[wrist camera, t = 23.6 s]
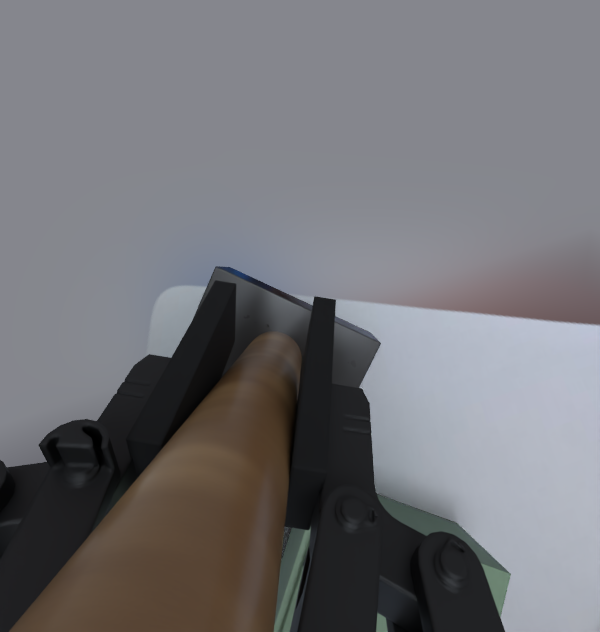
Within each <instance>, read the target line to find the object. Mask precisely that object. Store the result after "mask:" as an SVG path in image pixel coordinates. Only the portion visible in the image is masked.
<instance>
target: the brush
mask: <svg viewBox="0 0 600 632" xmlns="http://www.w3.org/2000/svg"><path fill="white" fill-rule="evenodd" d="M215 280H217V281H223V282H230V283H236V319H235V343H234V345H233V348H232V351H231V353H230V356H229V358H228V361H227V364H226V366H225V369H224V372H223V374H222V377H221V379H220V380H219V381H218V383H217V384H216V385H215V386H214V387H213V389H212V390H211V391H210V392H209V393H208V394H207V396H206V397H205V398H204V399H203V400H202V402H201V403H200V404H199V405H198V406H197V408H196V409H195V410H194V411H193V412H192V414H191V415H190V416H189V417H188V418H187V420H186V421H185V422H184V423H183V424H182V426H181V427H180V428H179V429H178V430H177V431H176V433H175V434H174V435H173V436H172V437H171V439H170V440H169V441H168V442H167V443H166V445H165V446H164V447H163V448H162V449H161V451H160V452H159V453H158V454H157V455H156V457H155V458H154V459H153V460H152V461H151V462H150V464H149V465H148V466H147V467H146V468H145V470H144V471H143V472H142V473H141V474H140V476H139V477H138V478H137V479H136V480H135V482H134V483H133V484H132V485H131V486H130V488H129V489H128V490H127V491H126V492H125V493H124V495H123V496H122V497H121V498H120V499H119V501H118V502H117V503H116V504H115V505H114V507H113V508H112V509H111V510H110V511H109V513H108V514H107V515H106V516H105V517H104V519H103V520H102V521H101V522H100V523H99V524H98V526H97V527H96V528H95V529H94V530H93V532H92V533H91V534H90V535H89V536H88V538H87V539H86V540H85V541H84V542H83V544H82V545H81V546H80V547H79V548H78V550H77V551H76V552H75V553H74V554H73V556H72V557H71V558H70V559H69V560H68V561H67V563H66V564H65V565H64V566H63V567H62V569H61V570H60V571H59V572H58V573H57V575H56V576H55V577H54V578H53V579H52V581H51V582H50V583H49V584H48V585H47V587H46V588H45V589H44V590H43V591H42V592H41V594H40V595H39V596H38V597H37V598H36V600H35V601H34V602H33V603H32V604H31V606H30V607H29V608H28V609H27V610H26V612H25V613H24V614H23V615H22V616H21V618H20V619H19V620H18V621H17V622H16V623H15V625H14V626H13V627H12V628H11V629H10V631H9V632H274V625H275V615H276V605H277V595H278V586H279V576H280V566H281V557H282V547H283V537H284V528H285V518H286V508H287V499H288V489H289V479H290V469H291V459H292V449H293V440H294V430H295V420H296V410H297V401H298V394H299V387H300V380H301V373H302V366H303V359H304V352H305V346H306V341H307V335H308V330H309V324H310V319H311V313H312V307H313V306H312V305H310V304H308V303H306V302H304V301H301V300H299V299H297V298H295V297H293V296H291V295H289V294H286V293H284V292H282V291H280V290H278V289H276V288H273V287H271V286H269V285H267V284H265V283H263V282H261V281H258V280H256V279H254V278H252V277H250V276H248V275H245V274H243V273H241V272H239V271H237V270H235V269H233V268H230V267H215V269H214V272H213V274H212V276H211V279H210V281H209V283H208V286H207V288H206V290H205V293H204V295H203V297H202V300H201V302H200V304H199V307H198V309H197V311H196V314H197V312H198V310H199V308H200V306H201V305H202V303H203V301H204V299H205V298H206V296H207V294H208V292H209V290H210V289H211V287H212V285H213V283H214V282H215ZM196 314H195V315H196ZM194 317H195V316H194ZM193 319H194V318H193ZM380 344H381V343H380V342H379V341H378V340H377V339H376V338H375V337H374V336H373V335H372V334H371V333H370V332H368V331H366V330H364V329H362V328H359V327H357V326H355V325H353V324H351V323H349V322H347V321H344V320H342V319H340V318H338V317H336V316H335V325H334V346H333V367H332V384H337V385H343V386H349V387H355V388H359V386H360V384H361V382H362V380H363V378H364V376H365V374H366V372H367V370H368V368H369V366H370V364H371V362H372V360H373V358H374V356H375V354H376V352H377V350H378V348H379V346H380Z"/></svg>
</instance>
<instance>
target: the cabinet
mask: <svg viewBox="0 0 600 632" xmlns="http://www.w3.org/2000/svg"><path fill="white" fill-rule="evenodd" d="M377 496H378V499H379V501H380V502H381V504H382V505H383V507H384V508H385V510H386V511H387V512H388V513H389V514H390V515H391V516H392V517H394V518H395V519H397V520H398V521H400V522H401V523H403V524H405V525H407V526H409V527H411V528H413V529H415V530H416V531H418V532H420V533H422V534H424V535H426V536H428V535H429V534H430V533H433V532H439V531H443V532H447V533H450V534H454V535H455V536H457V537H458V538H460V539H461V540H463V541H465V542H466V543H467V544H468V545H469V547H470V548H471V549H472V550H473V551H474V552H475V553H476V555H477V557H478V559H479V561H480V563H481V565H482V567H483V569H484V572H485V575H486V578H487V580H488V583H489V586H490V589H491V592H492V595H493V598H494V601H495V604H496V607H497V610H498V613H499V616H501V612H502V608H503V604H504V600H505V596H506V592H507V587H508V583H509V579H510V575H511V574H510V573H509V572H508V571H507V570H506V569H505V568H504V567H503V566H502V565H501V564H500V563H498V562H497V561H496V560H495V559H494V558H493V557H492V556H491V555H490V554H489V553H488V552H487V551H486V550H485V549H484V548H483V547H482V546H480V545H479V544H478V543H477V542H476V541H475V540H474V539H473V538H472V537H471V536H470V535H469V534H468V533H467V532H466V531H465V530H464V529H463V528H461V527H460V526H459V525H458V524H457V523H455V522H452V521H449V520H447V519H444V518H441V517H438V516H436V515H433V514H430V513H427V512H425V511H422V510H419V509H416V508H414V507H411V506H408V505H405V504H402V503H400V502H397V501H394V500H391V499H389V498H386V497H383V496H380V495H378V494H377ZM310 530H311V527H310ZM310 530H303V529H297V528H292V530H291V533H290V536H289V539H288V542H287V545H286V548H285V551H284V554H283V557H282V560H281V566H280V576H279V586H278V595H277V605H276V615H275V625H274V632H290V628H291V623H292V619H293V614H294V609H295V605H296V600H297V595H298V590H299V586H300V581H301V576H302V572H303V566H302V565H303V562H304V559H305V556H306V553H307V550H308V547H309V543H310ZM376 632H388V630H387V623H386V618H385V617H384V616H382V615H380V614H379V613H377V627H376Z"/></svg>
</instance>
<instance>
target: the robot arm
mask: <svg viewBox="0 0 600 632" xmlns="http://www.w3.org/2000/svg"><path fill="white" fill-rule="evenodd" d="M335 304H336V300H334V299H327V298H321V297H314V302H313V307H312V313H311V319H310V324H309V330H308V335H307V341H306V346H305V352H304V359H303V366H302V373H301V380H300V387H299V394H298V401H297V410H296V420H295V430H294V440H293V449H292V459H291V469H290V479H289V489H288V499H287V508H286V518H285V527H291V528H297V529H303V530H310V527H311V530H310V543H309V547H308V550H307V553H306V556H305V559H304V562H303V565H302V566H303V572H302V576H301V581H300V586H299V590H298V595H297V600H296V605H295V609H294V614H293V619H292V623H291V628H290V632H376V627H377V613H379V614H380V615H382V616H384V617H385V618H386V623H387V630H388V632H505V630H504V627H503V625H502V622H501V619H500V616H499V613H498V610H497V607H496V604H495V601H494V598H493V595H492V592H491V589H490V586H489V583H488V580H487V578H486V575H485V572H484V569H483V567H482V565H481V563H480V561H479V559H478V557H477V555H476V553H475V552H474V551H473V550H472V549H471V548H470V547H469V545H468V544H467V543H466V542H465V541H463V540H461V539H460V538H458V537H457V536H455V535H454V534H450V533H447V532H443V531H439V532H433V533H430V534H429V535H428V536H426V535H424V534H422V533H420V532H418V531H416V530H415V529H413V528H411V527H409V526H407V525H405V524H403V523H401V522H400V521H398V520H397V519H395V518H394V517H392V516H391V515H390V514H389V513H388V512H387V511H386V510H385V508H384V507H383V505H382V504H381V502H380V501H379V499H378V496H377V494H376V491H375V485H374V471H373V455H372V438H371V422H370V405H369V402H368V400H367V398H366V396H365V394H364V392H363V390H362V389H361V388H355V387H349V386H343V385H337V384H332V367H333V346H334V325H335ZM235 319H236V283H230V282H223V281H217V280H215V282H214V283H213V285H212V287H211V289H210V290H209V292H208V294H207V296H206V298H205V299H204V301H203V303H202V305H201V306H200V308H199V310H198V312H197V314H196V315H195V317H194V319H193V321H192V322H191V324H190V326H189V328H188V329H187V331H186V333H185V335H184V337H183V338H182V340H181V342H180V344H179V345H178V347H177V349H176V351H175V352H174V354H173V356H172V358H168V357H162V356H156V355H150V354H149V355H148V356H146V357H145V358H144V359H142V360H141V361H140V362H138V363H137V364H135V365H134V367H133V368H132V369H131V371H130V373H129V374H128V375H127V377H126V379H125V382H123V383H122V384H121V386H120V388H119V389H118V390H117V394H115V395H114V396H113V398H112V399H111V401H110V403H109V404H108V405H107V407H106V409H105V410H104V411H103V413H102V415H101V416H100V418H99V419H98V420H97V421H92V420H88V419H85V420H75V421H71V422H69V423H66V424H64V425H61V426H59V427H57V428H56V429H55V430H53V431H52V432H50V433H49V434H47V435H46V437H45V438H44V439H43V440H42V441H41V443H40V444H39V447H40V449H41V451H42V453H43V455H44V457H45V458H46V460H47V462H44V463H37V464H30V465H22V466H15V467H8V468H7V467H6V466H5V464H4V463H3V462H2V461H1V460H0V632H9V631H10V629H11V628H12V627H13V626H14V625H15V623H16V622H17V621H18V620H19V619H20V618H21V616H22V615H23V614H24V613H25V612H26V610H27V609H28V608H29V607H30V606H31V604H32V603H33V602H34V601H35V600H36V598H37V597H38V596H39V595H40V594H41V592H42V591H43V590H44V589H45V588H46V587H47V585H48V584H49V583H50V582H51V581H52V579H53V578H54V577H55V576H56V575H57V573H58V572H59V571H60V570H61V569H62V567H63V566H64V565H65V564H66V563H67V561H68V560H69V559H70V558H71V557H72V556H73V554H74V553H75V552H76V551H77V550H78V548H79V547H80V546H81V545H82V544H83V542H84V541H85V540H86V539H87V538H88V536H89V535H90V534H91V533H92V532H93V530H94V529H95V528H96V527H97V526H98V524H99V523H100V522H101V521H102V520H103V519H104V517H105V516H106V515H107V514H108V513H109V511H110V510H111V509H112V508H113V507H114V505H115V504H116V503H117V502H118V501H119V499H120V498H121V497H122V496H123V495H124V493H125V492H126V491H127V490H128V489H129V488H130V486H131V485H132V484H133V483H134V482H135V480H136V479H137V478H138V477H139V476H140V474H141V473H142V472H143V471H144V470H145V468H146V467H147V466H148V465H149V464H150V462H151V461H152V460H153V459H154V458H155V457H156V455H157V454H158V453H159V452H160V451H161V449H162V448H163V447H164V446H165V445H166V443H167V442H168V441H169V440H170V439H171V437H172V436H173V435H174V434H175V433H176V431H177V430H178V429H179V428H180V427H181V426H182V424H183V423H184V422H185V421H186V420H187V418H188V417H189V416H190V415H191V414H192V412H193V411H194V410H195V409H196V408H197V406H198V405H199V404H200V403H201V402H202V400H203V399H204V398H205V397H206V396H207V394H208V393H209V392H210V391H211V390H212V389H213V387H214V386H215V385H216V384H217V383H218V381H219V380H220V379H221V377H222V374H223V372H224V369H225V366H226V364H227V361H228V358H229V356H230V353H231V351H232V348H233V345H234V343H235Z"/></svg>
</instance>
